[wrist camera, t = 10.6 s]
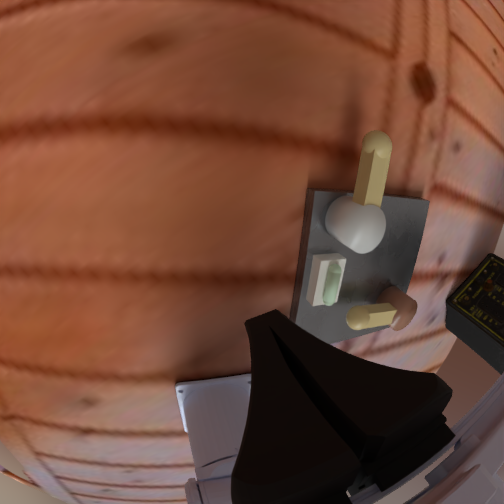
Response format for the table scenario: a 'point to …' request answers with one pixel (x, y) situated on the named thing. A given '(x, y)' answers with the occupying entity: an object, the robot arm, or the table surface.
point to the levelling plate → (356, 262)
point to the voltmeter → (481, 311)
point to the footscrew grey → (363, 198)
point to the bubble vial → (325, 279)
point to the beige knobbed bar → (384, 311)
